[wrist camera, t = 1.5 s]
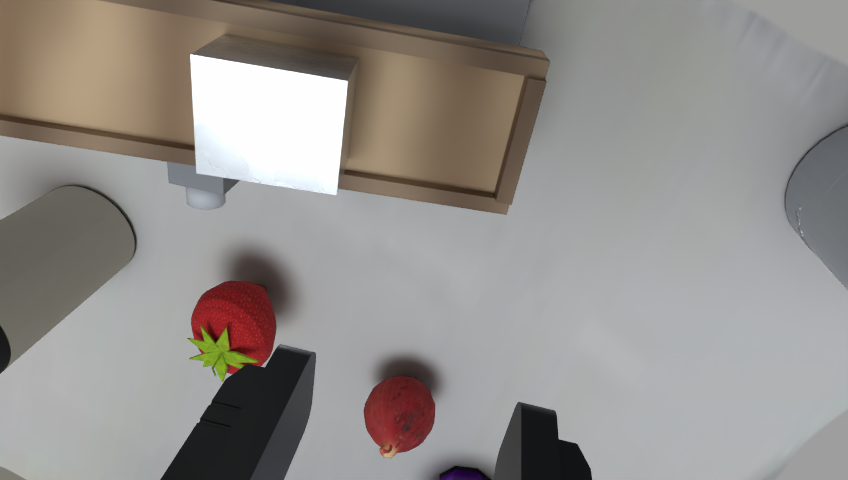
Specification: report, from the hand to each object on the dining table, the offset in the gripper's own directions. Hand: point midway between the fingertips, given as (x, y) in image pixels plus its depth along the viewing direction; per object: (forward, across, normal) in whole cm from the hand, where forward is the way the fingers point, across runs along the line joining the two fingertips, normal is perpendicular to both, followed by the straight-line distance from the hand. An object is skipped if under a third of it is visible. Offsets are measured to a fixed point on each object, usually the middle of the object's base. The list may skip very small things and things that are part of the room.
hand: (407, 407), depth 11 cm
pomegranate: (+27, +1, +27) cm, 38 cm away
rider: (+16, +9, 0) cm, 19 cm away
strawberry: (+27, +14, +20) cm, 37 cm away
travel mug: (+27, +29, +18) cm, 44 cm away
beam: (+17, +14, 0) cm, 22 cm away
